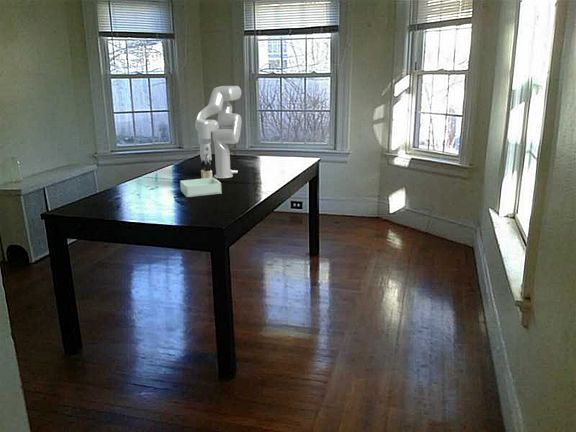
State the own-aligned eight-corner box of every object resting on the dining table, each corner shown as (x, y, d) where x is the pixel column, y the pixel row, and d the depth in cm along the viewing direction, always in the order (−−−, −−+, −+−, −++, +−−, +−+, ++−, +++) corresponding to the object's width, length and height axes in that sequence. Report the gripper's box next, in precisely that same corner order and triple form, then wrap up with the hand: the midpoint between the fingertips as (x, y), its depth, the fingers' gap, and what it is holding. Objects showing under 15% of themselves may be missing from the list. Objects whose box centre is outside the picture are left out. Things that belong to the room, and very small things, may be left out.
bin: (214, 187, 311) (213, 177, 310) (221, 193, 295) (221, 183, 294) (180, 190, 304) (179, 180, 303) (186, 197, 288) (185, 186, 287)
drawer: (210, 180, 322) (209, 167, 319) (212, 182, 317) (211, 168, 314) (201, 181, 320) (200, 167, 318) (203, 183, 315) (202, 169, 312)
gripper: (214, 142, 305) (215, 171, 309) (207, 140, 321) (208, 167, 325) (201, 143, 302) (203, 172, 306) (195, 140, 318) (196, 168, 322)
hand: (206, 169), depth 316 cm, fingers open, 9 cm apart
